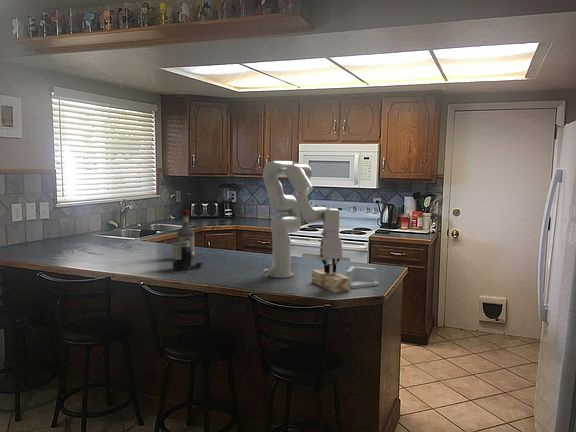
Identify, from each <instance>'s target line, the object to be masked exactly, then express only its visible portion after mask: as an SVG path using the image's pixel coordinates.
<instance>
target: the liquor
mask: <svg viewBox="0 0 576 432" xmlns="http://www.w3.org/2000/svg"><path fill="white" fill-rule="evenodd" d="M189 211H190V210H188V209H183V210H182V226H181V227H180V228H179V229H178V231H177V242H188V247H190V249H191V259H192V260H194V259H195V232H194V230H193V229H192V228H191V226H190V223H189ZM193 258H194V259H193Z"/></svg>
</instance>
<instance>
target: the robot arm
mask: <svg viewBox="0 0 576 432" xmlns="http://www.w3.org/2000/svg"><path fill="white" fill-rule="evenodd" d="M312 175H313V171H312V168H311V167H310V165H308V164H307V163H301V162H298V161H291V160H270V161H269V162H267V163H266V164H265V165H264V167H263V170H262V178H263V181H264V185H265V188H266V192H267V198H268V203H269V208H270V210H271V212H272V213H274V214H281V215H276V216H275V217H273V218H272V220H271V221H270V230H271V236H272V237H271V238H272V266H270V268H264V269H263V273H264V274H266V273H267V274H269V276H270V277H272V278H276V279H277V278H278V279H279V278H281V279H285V278H292V277H293V276H294V272H292V271H291V267H292V264H291V263H292V262H291V261H292V259H291V257H292V253H291V251H292V250H291V247H292V243H291V238H290V236H289V234H291V233H292V234H293V233H296V232H298V231H299V230H300V229H301V228H302V218H303V220H304V221H305V222H306V223H308V224H318V223H319V224H320V223H322V224H323V225H322V229H323V230H322V232H320V235H321V236H322V237H321V239H320V245H319V246H320V247H319V254H318V255H319V256H318V257H317V260H319V261H320V262H322V264H323V266H324V267H323V269H324V271H325V273H329V265H328V263H329V262H330V261H329V260H332V262H331V263H333V272H334V273H337V265H338V263H339V262H340V261H341V260H342V259H343V258H344V257H343V246H342V244H343V243H342V239H341V237H340V209H338V208H334V207H331V208H329V207H326V206H316V207H314V206H313V207H312V205H311V204H310V202H309V199H308V196H309V194H311V193H312V191H313V189H314V187H313V185H312V183H311V181H310V179H311V178H312ZM278 178H288V180H289V182H290V185H291V186H292V187H293V189H294V191H295V193H296V195H297V197H295V196H294V195H292V194H285V192H284V187H283V185H282V182H281V181H280V180H279V179H278ZM283 214H284V215H283ZM301 217H302V218H301Z"/></svg>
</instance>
